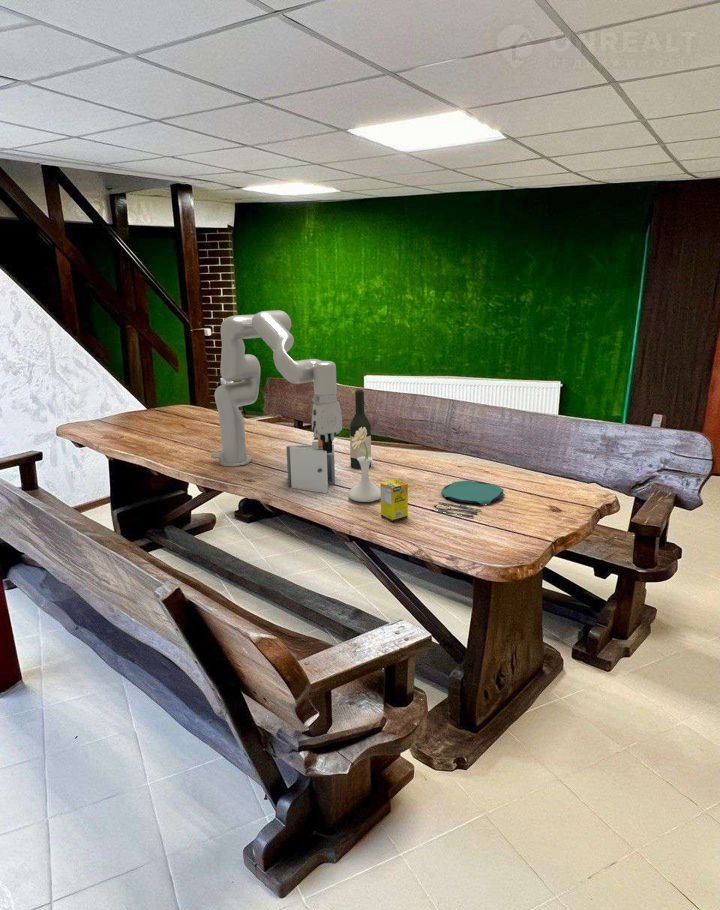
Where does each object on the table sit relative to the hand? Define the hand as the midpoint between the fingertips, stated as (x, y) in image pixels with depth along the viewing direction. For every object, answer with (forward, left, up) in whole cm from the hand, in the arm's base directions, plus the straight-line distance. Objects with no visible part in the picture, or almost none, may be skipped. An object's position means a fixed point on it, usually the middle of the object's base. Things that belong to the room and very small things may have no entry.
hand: (327, 452), depth 206 cm
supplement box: (+20, -28, -13) cm, 37 cm away
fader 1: (-4, +8, -1) cm, 9 cm away
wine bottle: (+12, +26, -13) cm, 31 cm away
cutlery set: (+45, -15, -14) cm, 49 cm away
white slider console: (-6, +9, -13) cm, 17 cm away
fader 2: (-3, +12, -1) cm, 12 cm away
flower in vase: (+12, -12, -13) cm, 22 cm away
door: (-7, -1, -13) cm, 15 cm away
